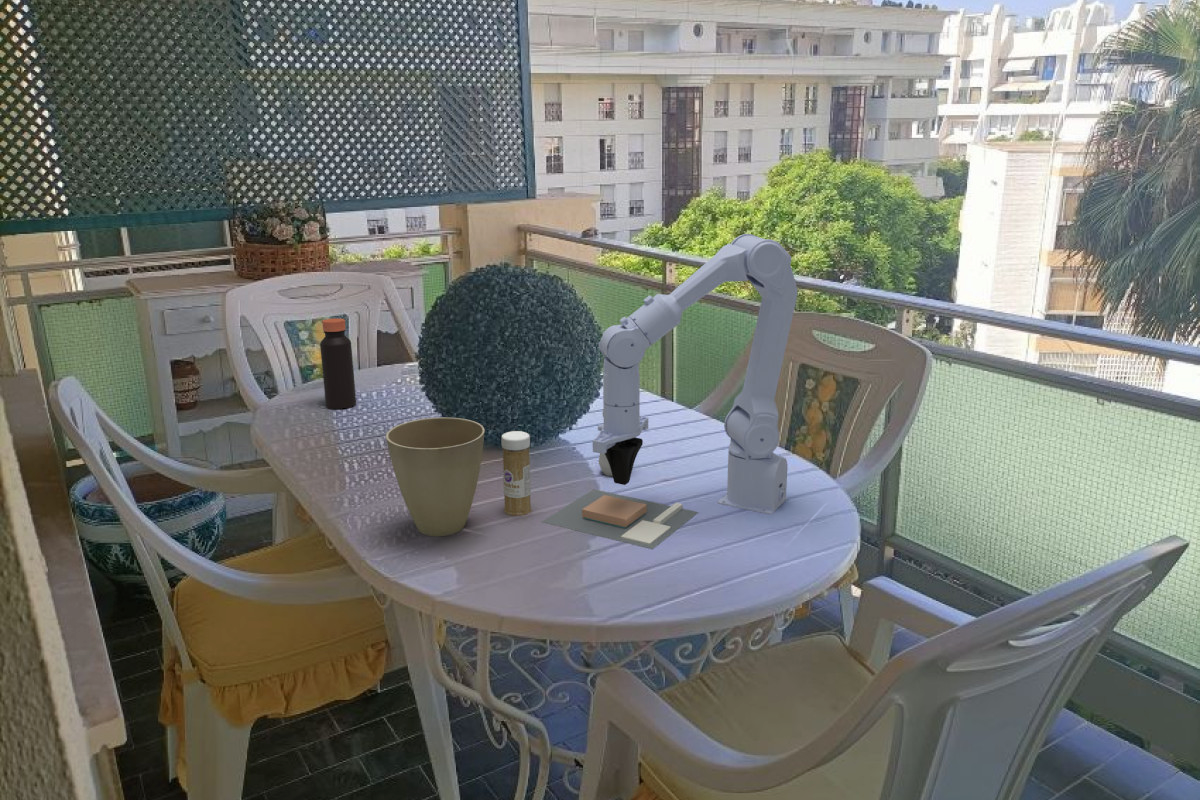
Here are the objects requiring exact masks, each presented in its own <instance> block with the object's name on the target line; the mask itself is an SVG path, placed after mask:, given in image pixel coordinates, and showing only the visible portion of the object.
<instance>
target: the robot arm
mask: <svg viewBox="0 0 1200 800" xmlns="http://www.w3.org/2000/svg"><path fill="white" fill-rule="evenodd" d="M791 263H792V256H791V255H790V253H788V251H787V250H786V249H785V248H784V247H783V246H782V244H780V242H778V241H776V240H774V239H768V238H767V239H765V238H762V237H758V236H757V235H755V234H750V233H744V234H741V235H739V236H737V237H735V238H734V239H733V240H732V241H731V242H730V243H727V244H725V245H723V246H722V247H721V248H720V249H719V250H718V251H717V252H716V254H714V255H713V256H712V257H711V258H710V259H709V260H707V261H706V262H705V263H704V264H703V265H701V267H699V268H698V269H696V271H695V272H694V273H692V274H691V275H690V276H689V277H688V278H687V279H685V280H684V281H683V282H682V283H681V284H680V285H678V287H676V288H675V289H674V290H673V291H671V292H670V294H662V293H657V294H655V295H654V296H652V295H648V296H647V297H645V298H644V299H643V302H644V303H643V304H642V305H641V306H640V307H639V308H637V310H635V311H634V312H632V313H631V314H630V315H629V316H627V317H626V316H623V317H622V318H621V319H619V322H620V323H621V324H616V325H615V324H614V325H611V326H609V327H608V328H607V329H605V331H604V332H602V336H601V338H600V341H599V342H598V348H599V350H600V351H599V352H601V354H602V355H603V356H604V357H603V374H602V375H603V376H602V377H603V378H602V385H603V387H602V389H603V390H602V391H603V392H602V393H603V394H602V395H603V396H602V397H603V398H602V400H603V403H602V405H603V409H604V418H603V423H601V424H598V426H597V431H599V433H598V435H597V436H596V437H595V438H594V439H593V440H592V453H597V454H600V453H601V454H605V456H606V458H607V460H608V462H609V465H610V468H611V472H612V476H611V477H612V480H613V482H614V484H618V485H622V486H626V485H628V484H629V483H630V480H631V477H632V472H633V468H634V464H635V461H636V458H637V456H638V454H639V452H640V450H641V448H642V446H643V445H644V444H643V442H644V441H643V439H642V438H641V437H639V436H640V435H641V433H642V431H647V430H648V429H649V417H646V416H642V415H641V413H640V405H641V403H640V401H641V399H640V396H641V395H640V388H641V387H640V385H641V384H640V381H641V379H640V377H641V376H640V363H641V362H642V360H643V358H644V357H645V353H646V349H648V348H651V346H652V345H654V344H655V343H657V342H658V341H659V340H660V339H662V338H663V337H664V336H665V335H667V334H668V333H669V332H670V331H672V330H673V329H674V328H676V327H677V326H678V325H679V324H680V323H681V319H682V315H683V312H684V311H685V310H686V309H688V308H689V307H691V306H692V305H694V304H695V303H696V302H698V301H700V300H701V299H702V298H704V297H705V296H706V295H708V294H709V293H711V292H712V291H713V290H715V289H716V288H718V287H719V286H720V285H722V284H724V283H727V282H729V283H730V282H732V283H733V282H747V281H749V282H750V284H751V285H752V286H753V287H754V288H755V290H756V291H757V293H758V294H759V295H760V297H761V300H760V305H759V311H758V315H757V320H756V324H755V330H754V334H753V340H752V344H751V347H750V348H751V349H750V354H749V358H748V363H747V368H746V372H745V378H744V380H743V381H744V383H743V387H742V390H741V392H740V393H739V394H737V396H735V398H734V402H733V405H732V406H731V409H730V411H729V412H728V413H727V415H726V416H725V419H724V421H723V422H724V423H723V427H724V430H725V434H726V435H727V437H728V438H730V443H729V446H728V453H727V455H728V458H727V486H726V487H727V488H726V493H725V495H724V496H722V497H721V498H720V499H718V501H717V504H719V505H724V506H729V507H731V508H733V507H734V508H738V509H743V510H747V511H753V512H757V513H762V514H767V515H772V514H773V513H775V511H776V510H778V509H779V508H780V506H782V505H783V504H784V503H785V501H787V500H788V496H787V488H788V487H787V484H788V461H787V459H786V457H783V456H781V455H778V454H776V453H774V451H775V450H776V449H777V447H778V446H779V443H780V432H779V428H778V426H779V425H778V424H779V419H780V414H779V411H778V407H777V404H776V399H775V398H776V394H777V389H778V384H779V381H780V375H781V373H782V372H781V371H782V367H783V362H784V357H785V354H786V353H785V352H786V349H787V343H788V340H789V335H790V331H791V326H792V321H793V316H794V312H795V307H796V303H797V299H798V286H797V284H796V279H795V277H794V273H793V269H792V266H791ZM603 409H602V410H603ZM640 415H641V416H640Z"/></svg>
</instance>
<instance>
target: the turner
mask: <svg viewBox="0 0 1200 800" xmlns="http://www.w3.org/2000/svg"><path fill="white" fill-rule="evenodd" d="M670 506H671V507H670V508H668V509H667V510H666V511H664V512H663V513H662V514H660V515H659V516H658V517H656V518H655V519H654V520H653V522H649V521H644V520H642V521H641V522H640V523H638V524H637V525H635V526H634V527H633V528H631V529H630V530H629V531H627V532H626V533H625V534H623V535H622V536H621V538H623V539H627V540H631V541H635V542H639V543H643V544H647V545H651V544H652V543H653V542H654V541H656V540H657V539H658V538H660V537H661V536H662V535H663V534H665V533H666V532H667V531H668V530H670V529H671V527H670V526H666V525H662V524H663V523H665V522H666V521H667V520H668V519H670V518H671V517H672V516H674V515H675V514H676V513H677V512H679V511H680V510H681V509H684V508H683V503H680V502H679V503H678V502H675V503H674V504H673V505H670Z"/></svg>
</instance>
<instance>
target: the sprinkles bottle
mask: <svg viewBox="0 0 1200 800" xmlns="http://www.w3.org/2000/svg"><path fill="white" fill-rule="evenodd" d="M530 445H531V436H530V434H529V433H527V431H525V432H524V431H521V430H518V431H517V430H513V431H508V432H505V433H503V434H502V435H501V448H502V462H503V463H502V465H503V466H502V467H503V479H502V480H503V494H504V498H503V499H504V508H503V512H504V513H505V514H506V515H508V516H524V515H527V514H530V513H531V512H532V507H531V506H532V505H531V491H532V489H531V462H530Z"/></svg>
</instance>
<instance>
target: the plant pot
mask: <svg viewBox="0 0 1200 800" xmlns="http://www.w3.org/2000/svg"><path fill="white" fill-rule="evenodd" d="M484 438H485V428H484V426H483V425H482V424H480V423H479V422H476V421H474V420H471V419H466V418H460V417H429V418H420V419H415V420H409V421H406V422H402V423H401V424H397V425H395V426H394V427H392V428H390V429H388V431H387V432H386V434H385V440H386V444H387V448H388V452H389V455H390V456H389V457H390V460H391V463H392V464H391V465H392V467H393V472H394V474H395V479H396V481H397V482H396V483H397V484H398V488H399V490H400V492H401V495H402V498H403V500H404V502H405V505H406V508H407V510H408V512H409V514H410V516H411V519H412V521H413V522H414V525H415V527H416V528H417V530H418V532H420V534H423V535H425V536H429V537H445V536H446V537H447V536H451V535H454V534H458V533H459V532H461V531H462V530H463V529H464V527H465V526H466V523H467V520H468V518H469V514H470V511H471V508H472V504H473V501H474V499H475V494H476V490H477V485H478V483H479V482H478V481H479V476H480V469H481V464H482V457H483V449H484V448H483V447H484Z"/></svg>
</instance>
